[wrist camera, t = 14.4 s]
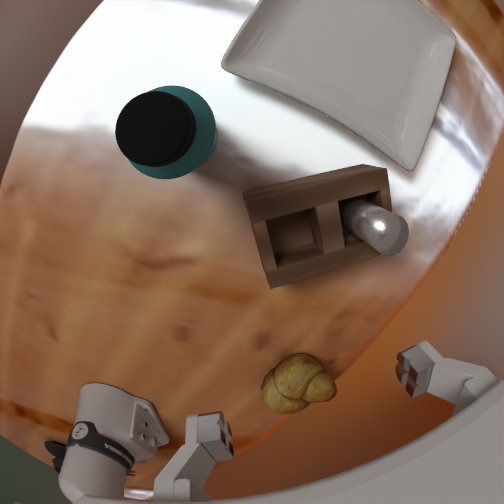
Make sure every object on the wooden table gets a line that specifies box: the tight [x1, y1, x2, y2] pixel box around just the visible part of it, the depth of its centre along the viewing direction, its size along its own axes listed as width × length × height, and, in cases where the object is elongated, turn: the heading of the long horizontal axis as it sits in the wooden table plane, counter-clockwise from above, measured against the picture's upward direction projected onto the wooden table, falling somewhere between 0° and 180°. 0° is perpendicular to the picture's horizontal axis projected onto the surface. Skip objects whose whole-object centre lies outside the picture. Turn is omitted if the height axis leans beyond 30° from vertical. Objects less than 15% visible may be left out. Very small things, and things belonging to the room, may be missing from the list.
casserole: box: [44, 441, 67, 474], centre depth 50 cm, size 25×19×8 cm
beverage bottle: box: [115, 86, 219, 179], centre depth 21 cm, size 6×7×20 cm
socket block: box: [243, 164, 392, 289], centre depth 32 cm, size 10×16×6 cm, turn 105°
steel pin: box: [338, 196, 409, 256], centre depth 29 cm, size 4×4×10 cm
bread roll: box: [261, 354, 337, 414], centre depth 41 cm, size 13×10×8 cm
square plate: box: [221, 0, 456, 171], centre depth 26 cm, size 27×27×4 cm
